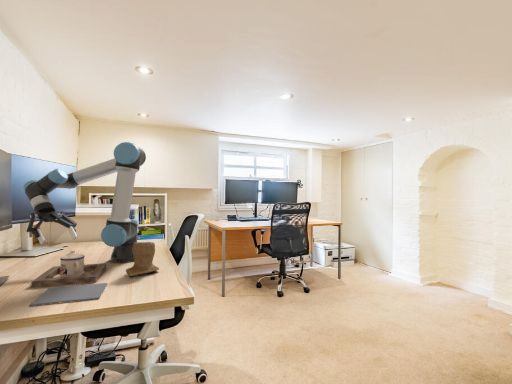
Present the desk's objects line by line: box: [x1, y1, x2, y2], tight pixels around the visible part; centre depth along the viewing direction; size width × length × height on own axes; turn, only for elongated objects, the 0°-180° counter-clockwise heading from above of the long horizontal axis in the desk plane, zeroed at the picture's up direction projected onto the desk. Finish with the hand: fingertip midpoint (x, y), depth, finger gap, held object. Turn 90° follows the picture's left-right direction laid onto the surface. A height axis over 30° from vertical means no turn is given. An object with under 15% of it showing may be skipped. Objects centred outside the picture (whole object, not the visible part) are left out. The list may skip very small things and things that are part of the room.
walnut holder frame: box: [30, 262, 107, 289], centre depth 115 cm, size 22×22×2 cm
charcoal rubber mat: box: [28, 282, 108, 307], centre depth 96 cm, size 20×16×1 cm
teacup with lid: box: [59, 249, 86, 277], centre depth 115 cm, size 12×9×12 cm
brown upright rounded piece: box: [125, 241, 160, 277], centre depth 123 cm, size 15×12×15 cm
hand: (60, 240), depth 120 cm, fingers open, 13 cm apart
